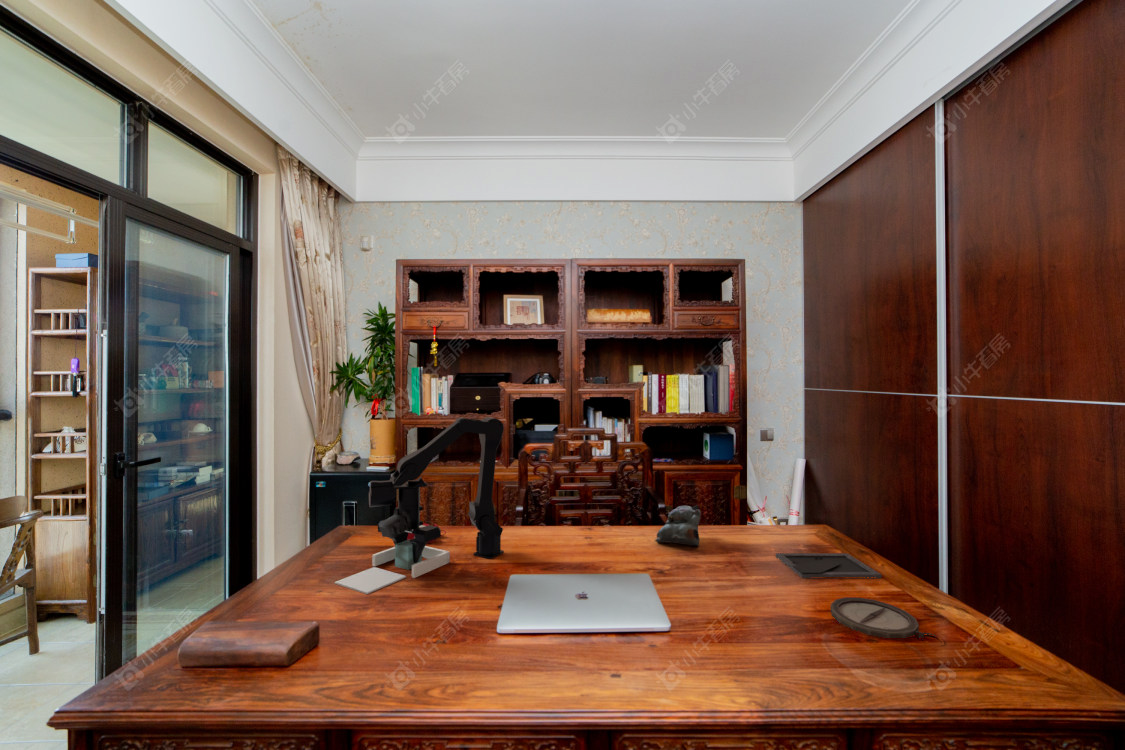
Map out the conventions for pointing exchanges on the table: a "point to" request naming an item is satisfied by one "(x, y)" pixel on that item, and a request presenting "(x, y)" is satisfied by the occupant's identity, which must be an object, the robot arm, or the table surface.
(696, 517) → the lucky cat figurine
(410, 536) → the alarm clock
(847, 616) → the compass
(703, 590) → the table surface
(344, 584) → the grey mat
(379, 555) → the white u-shaped frame
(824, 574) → the picture frame
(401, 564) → the teal block
